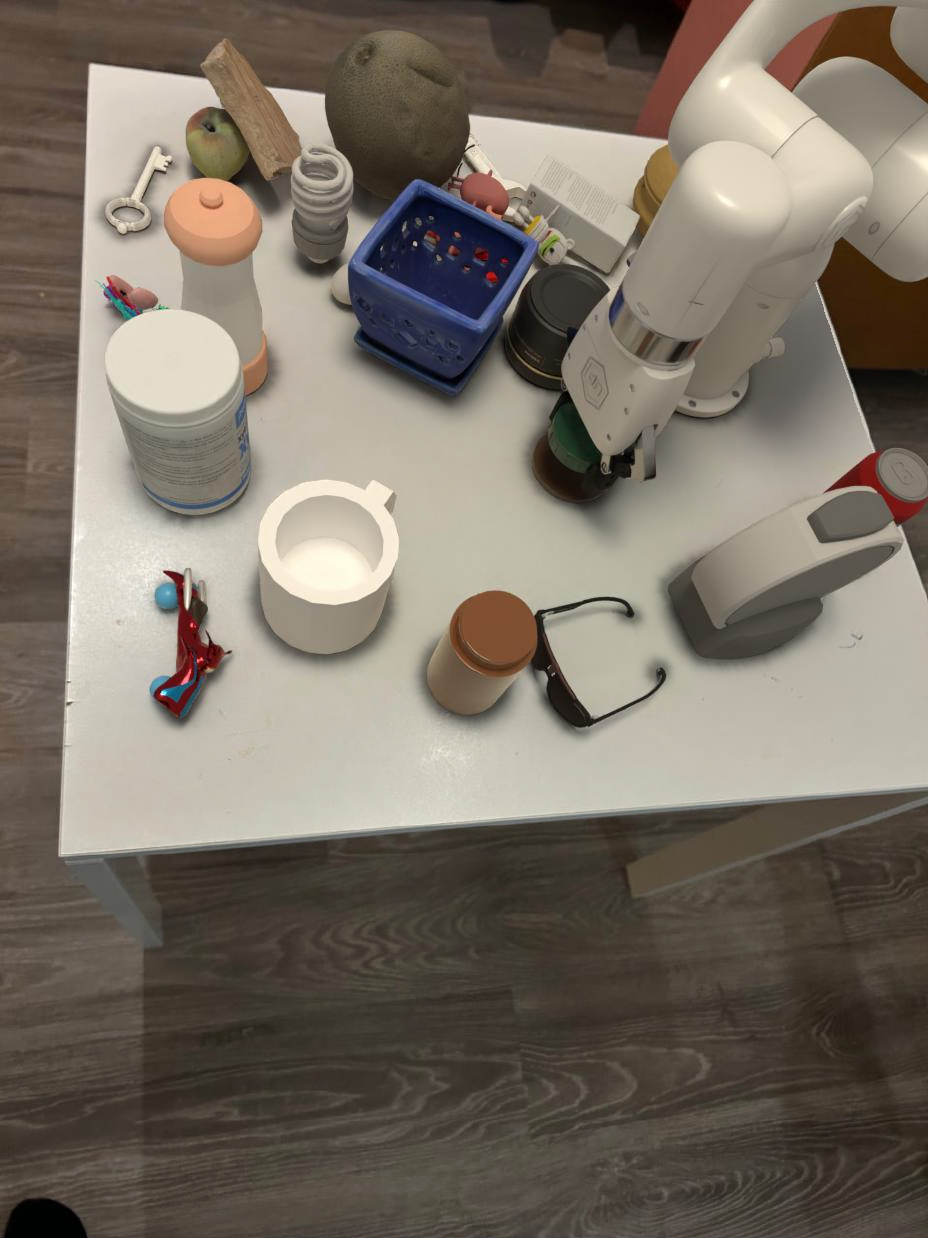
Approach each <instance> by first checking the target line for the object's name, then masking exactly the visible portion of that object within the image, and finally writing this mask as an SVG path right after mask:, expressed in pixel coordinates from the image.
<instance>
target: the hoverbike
mask: <svg viewBox="0 0 928 1238" xmlns="http://www.w3.org/2000/svg"><path fill="white" fill-rule="evenodd" d="M162 573H163V574H164V575H166V576H167V577H169V578H170V579H171V580H172V581H173V583H172V582H165V583H161V584H160V585H159V586H157V588H155V591H154V600H155V603H156V604H157V605H158V606H159V607H160V608H162V609H164V610H165V609H166V610H172V609H175V608H177V607H178V609H177V610H178V611H177V612H178V613H177V623H176V624H177V626H176V659H175V671H176V672H175V673H174V674H173V675H172V676H170V675H160V676H157V677H155V678H154V679H153V680H152V681H151V683H150V685H149V690H148V691H149V694H150V697H151V698H152V699H153V700H154V701H155V702H157V703H159V704H160V705H162V706H163V707H165V708H166V709H167V710H168V711H169V712H170V713H172V714H173V715H175V716H176V717H177V718H180V719H183V718H185V717H186V716H187V715H188V713H189V712H190V710H191V708H192V706H193V704H194V702H195V701H196V699H197V697H198V695H199V694H200V692H201V690H202V689H203V687H204V684H205V681H206V677H207V674H211V673H213V672H215V670H217V669H218V668H219V666H220V664H221V662H222V660H223V658H224V657H225V656H226V655H230V654H232V653H233V650H232V649H229V650H227V651H225V650H224V648H223V647H222V646H221V645H220V644H216V643H214V641H213V640H212V637H211V635H210V634H209V633H210V632H209V631H208V630H207V629H206V628H205V629H204V631H205V634H206V636H207V639H208V644H207V643H205V642H204V641H203V640H202V637H201V636H200V633H199V631H200V628H201V626H202V624H203V621H204V619H206V616H207V614H208V612H209V607H208V604H206V603H207V598H206V597H207V588H206V581H205V580H204V579H200V580H198V583H197V584H196V583H195V582H193V571H192V568H191V567H186V568H184V570H183V573H180V572H178V571H174V570H168V569H167V570H166V569H164V570H162Z"/></svg>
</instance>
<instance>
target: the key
mask: <svg viewBox="0 0 928 1238" xmlns="http://www.w3.org/2000/svg"><path fill="white" fill-rule="evenodd" d="M162 153H163V150H162V148H161V147H160V146H154V147H153V149H152V152H151V154H150V156H149V158H148V160H147V163H146V165H145V166H144V169H143V171H142V173H141V176H140V177H139V179H138V182H137V184H136V186H135V188H134V190H133V193H132V194H131V196H130V197H116V198H114V199H111V200H110V201H108V202H107V204H106V206H105V209H104V214H105V217H106V219H107V221H108V222H109V223H110V224H111V225H113V226H114V227H116V230H117V232H119V233H120V234H127V232H131V231H133V232H136V231H142V230H144V229H145V228H148V226H149V225H150V224H151V221H152V214H151V211H150V209H149V208H148V206H147V205H146V204H144V203H143V202H142V198H143V196H144V194H145V192H146V189H147V187H148V185H149V182H150V180H151V178H152V176H153V174H154V171H155V170H156V171H161V172H166V171H167V169H168V168H167V167H168V166H169V163H171V162H172V160H173V156H171V155H168V154H167V156H166V155H163V154H162ZM126 206H127V207H131V208H136V209H137V210H140V211H141V212H142V213H143V214H144V215H143V217H142V218H141V219H140V220H138V221H134V222H128V221H124V220H120V219H118V218H116V217H115V216H114V215H113V212H114V211H115V210H116V209H117V208H121V207H126Z"/></svg>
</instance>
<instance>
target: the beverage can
mask: <svg viewBox="0 0 928 1238" xmlns="http://www.w3.org/2000/svg"><path fill="white" fill-rule="evenodd" d="M851 486H868V487H872V488H873V489H874V490H876V491H877V493H878V494H881V495H882V497H883V499H884V500H885V502H886V504H887V506H888V507H889V509H890V511H891V513H892V514H893V516H894V520H893V521H894V523H895V524H896V526H897V528H899V527H900V526H901V525H903V524H904V523H906V522H907V521H909V520H910V519H911V518H913V517H914V516H916V515H917V514H918V513H920V512H921V511H922V510H923V509H924V507H925V506H926V503H927V501H928V465H927V464H926V462H925V461H924V459H922V458H921V457H920V456H919V455H917V454H916V453H914V452H913V451H911V450H908V449H906V448H903V447H891V448H888V449H886V450H878V451H874V452H871V453H869V454H868V455H866V456H865V457H864V458H863V459H861V460H860V461H859V462H858V463H857V464H856V465H854V466H853V467H852V468H850V469H849V470H848V471H847V472H846V473H844V474H843V475H842V476H841V477H840V478H839V479H837V480H836V481H835V482H833V484H832V485H830V486H829V487H828V488H827V489H825V490H824V491H823V492H822V493H821V494H823V493H826V492H829V491H833V490H836V489H841V488H846V487H851Z"/></svg>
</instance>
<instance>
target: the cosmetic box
mask: <svg viewBox="0 0 928 1238" xmlns="http://www.w3.org/2000/svg"><path fill="white" fill-rule="evenodd" d="M526 189H527V191H526V193H525V195H524V197H523V199H521V201H520V202H519V205H518V207H517V209H516V210H515V211H516V212H518V208H519V207H520V206H525V207H527V208H528V210H529V212H530V215H531V216H532V217H533V218H534V217H536V216H541V215H543V216H544V217H543V218H544V219H545V220H546V219H547V218H548V216H549V215H550V213H551V212H552V211H553V210H554V209H555V208H556V207H557V206H558V205H559V208H558V209H557V210H556V211H555V213H554V215H552V216H551V217H550V219H549V220H548V221H547V223H548V226H549V228H555V229H557V230H558V231H560V233H561V234H562V235H563V236H564V237H565V239H566V240H567V239H572V240H573V241H574V243H575V245H574V248H573V249H571V250H570V251H571V252H573V253H574V254H576V255H578V256H579V257H580V258H582V259H584V260H585V261H587V263H588V262H589V263H590V264H591V265H593V266H595V267H596V268H598V269H599V270H601V271H602V272H604V273H605V274H609V273H610V272H611V270H612V268H613V267H614V266H615V265H616V264H617V261H618V260H619V258H620V256H621V255H622V254H623V253H624V250H625V249H626V246H627V245H628V243H629V241H630V239H631V237H632V235H633V234H634V231H635V230H636V227H637V223H638V221H639V219H640V215H639V214H637V213H636V212H634V210H633V209H631V208H630V207H629V206H627V205H625V204H624V203H622V202H621V201H619V200H618V199H616V198H615V197H614V196H611V195H610V194H609V193H608V192H606V191H605V190H603V189H601V188H600V187H598V186H597V185H595V184H594V183H592V182H591V181H589V180H588V179H587V178H585V177H584V176H582V175H580V174H579V173H578V172H576V171H575V170H574V169H572V168H570V167H569V166H567V165H566V164H564V163H563V162H562V161H560V160H558V159H557V158H555V157H554V156H552V155H551V154H547V155H546V157H544V160H543V161H542V163H541V165H540V167H539V168H538V170H537V172H536V174H534V177H533V179H532V180H531V182H530V183H529V185H528V187H527V188H526ZM524 221H525V222H526V223H527V224H529V223H530V221H529V220H528V219H524Z"/></svg>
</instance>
